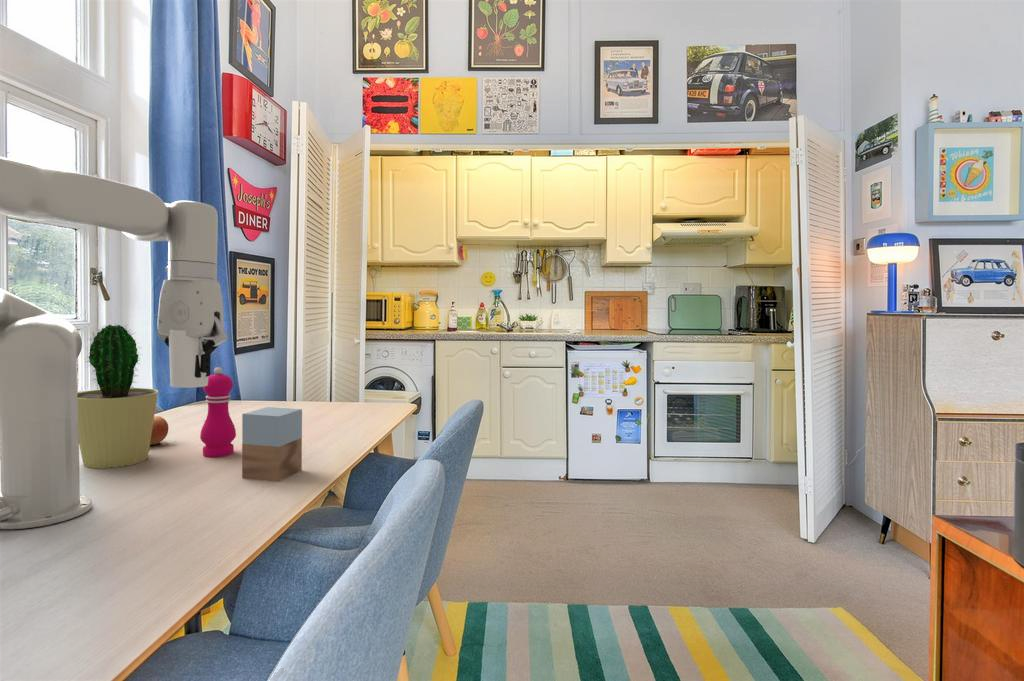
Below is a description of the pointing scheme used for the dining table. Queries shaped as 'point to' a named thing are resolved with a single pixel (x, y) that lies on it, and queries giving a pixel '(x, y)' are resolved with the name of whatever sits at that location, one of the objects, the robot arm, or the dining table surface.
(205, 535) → the dining table surface
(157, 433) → the apple
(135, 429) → the potted cactus
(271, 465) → the walnut block
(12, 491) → the robot arm
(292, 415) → the slate block
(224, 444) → the pepper mill
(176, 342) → the white cup
